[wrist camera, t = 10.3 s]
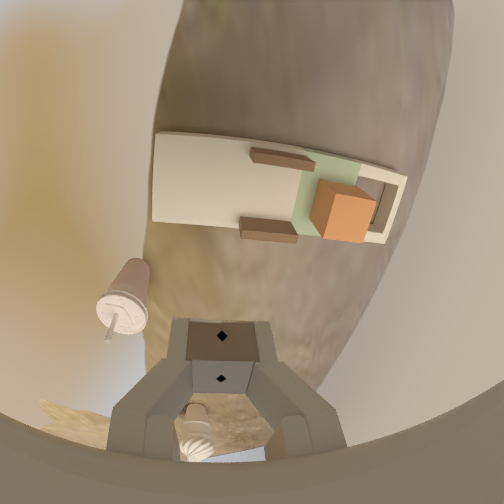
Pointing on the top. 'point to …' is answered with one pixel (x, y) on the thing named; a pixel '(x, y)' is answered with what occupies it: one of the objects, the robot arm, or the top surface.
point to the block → (341, 211)
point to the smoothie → (126, 300)
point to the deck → (256, 185)
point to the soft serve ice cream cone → (196, 434)
